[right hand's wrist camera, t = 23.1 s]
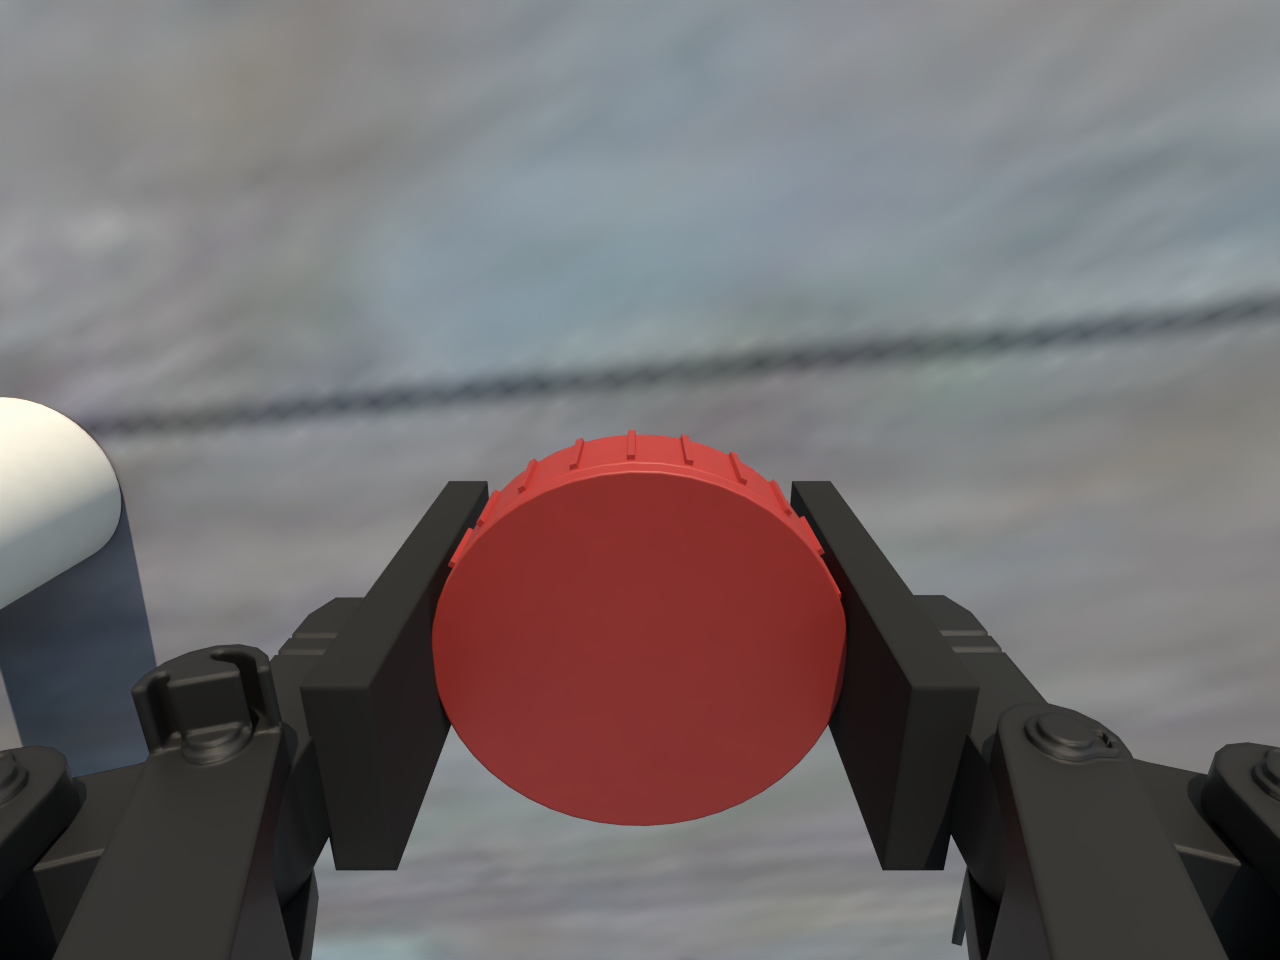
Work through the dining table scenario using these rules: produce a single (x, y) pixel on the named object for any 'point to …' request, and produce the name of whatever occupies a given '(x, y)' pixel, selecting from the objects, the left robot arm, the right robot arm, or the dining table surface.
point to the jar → (49, 496)
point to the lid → (639, 632)
